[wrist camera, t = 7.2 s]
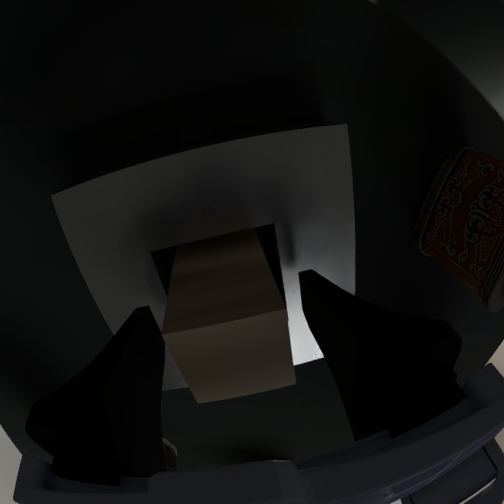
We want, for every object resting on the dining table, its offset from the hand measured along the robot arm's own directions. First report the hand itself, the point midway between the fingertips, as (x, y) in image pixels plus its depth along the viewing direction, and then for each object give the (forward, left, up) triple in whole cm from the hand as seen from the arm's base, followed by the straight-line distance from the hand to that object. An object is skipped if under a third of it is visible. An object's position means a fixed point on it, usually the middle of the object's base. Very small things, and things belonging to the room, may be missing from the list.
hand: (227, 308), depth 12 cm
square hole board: (0, 0, -4) cm, 4 cm away
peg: (0, 0, -4) cm, 4 cm away
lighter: (+1, -15, -4) cm, 16 cm away
